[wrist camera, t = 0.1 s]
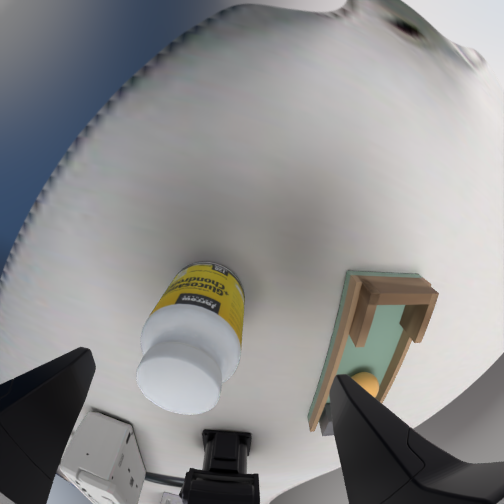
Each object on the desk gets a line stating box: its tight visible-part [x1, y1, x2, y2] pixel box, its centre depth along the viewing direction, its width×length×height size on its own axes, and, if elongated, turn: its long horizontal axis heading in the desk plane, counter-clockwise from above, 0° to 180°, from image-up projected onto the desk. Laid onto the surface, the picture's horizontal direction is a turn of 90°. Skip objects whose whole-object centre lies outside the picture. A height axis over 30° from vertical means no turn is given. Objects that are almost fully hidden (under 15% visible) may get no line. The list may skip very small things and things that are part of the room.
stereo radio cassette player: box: [60, 412, 146, 504], centre depth 24 cm, size 21×8×20 cm, turn 170°
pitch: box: [308, 271, 431, 432], centre depth 25 cm, size 20×8×2 cm, turn 176°
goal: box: [349, 275, 439, 347], centre depth 21 cm, size 5×7×4 cm
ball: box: [351, 372, 379, 397], centre depth 24 cm, size 4×4×4 cm
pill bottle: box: [136, 262, 245, 415], centre depth 18 cm, size 6×6×12 cm
